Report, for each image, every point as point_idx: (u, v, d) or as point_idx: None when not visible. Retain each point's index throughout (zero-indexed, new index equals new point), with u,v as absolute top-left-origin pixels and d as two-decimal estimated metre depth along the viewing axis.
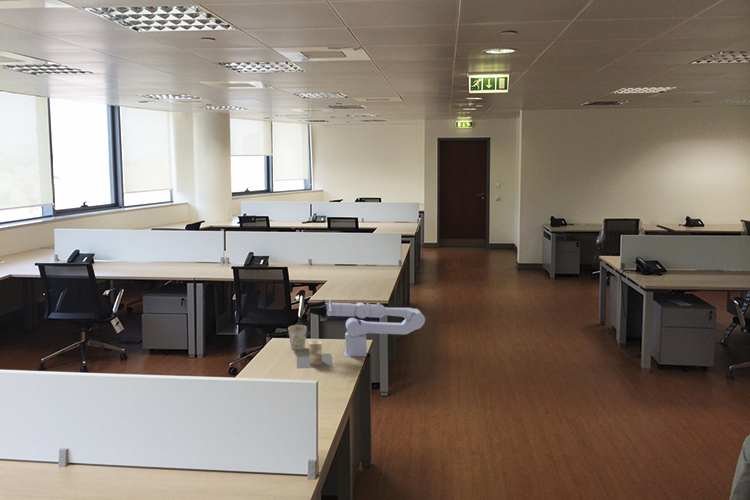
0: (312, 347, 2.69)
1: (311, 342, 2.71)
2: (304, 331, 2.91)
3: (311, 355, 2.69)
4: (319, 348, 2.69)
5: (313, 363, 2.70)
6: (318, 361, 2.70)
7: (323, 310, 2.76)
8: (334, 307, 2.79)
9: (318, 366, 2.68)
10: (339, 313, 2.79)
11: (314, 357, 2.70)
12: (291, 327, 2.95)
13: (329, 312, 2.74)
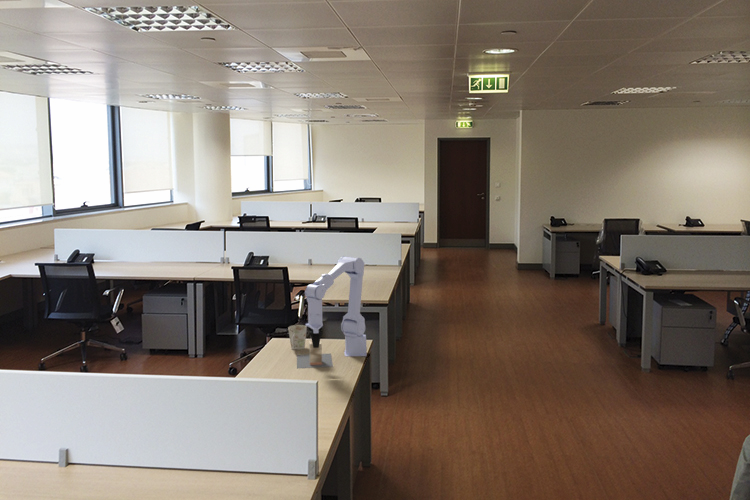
0: (312, 347, 2.69)
1: (311, 342, 2.71)
2: (304, 331, 2.91)
3: (311, 355, 2.69)
4: (319, 348, 2.69)
5: (313, 363, 2.70)
6: (318, 361, 2.70)
7: None
8: (312, 322, 2.60)
9: (318, 366, 2.68)
10: (318, 316, 2.60)
11: (314, 357, 2.70)
12: (291, 327, 2.95)
13: (315, 330, 2.55)
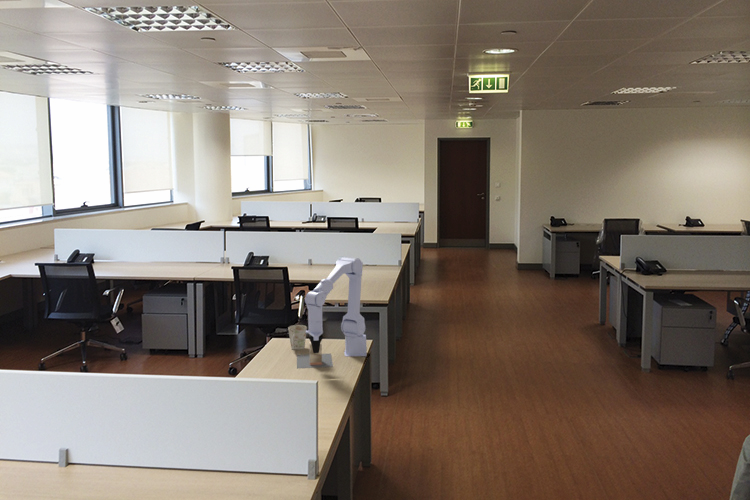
0: None
1: None
2: (304, 331, 2.91)
3: (311, 355, 2.69)
4: (319, 348, 2.69)
5: (313, 363, 2.70)
6: (318, 361, 2.70)
7: None
8: (312, 329, 2.60)
9: (318, 366, 2.68)
10: (318, 323, 2.60)
11: (314, 357, 2.70)
12: (291, 327, 2.95)
13: (315, 338, 2.56)
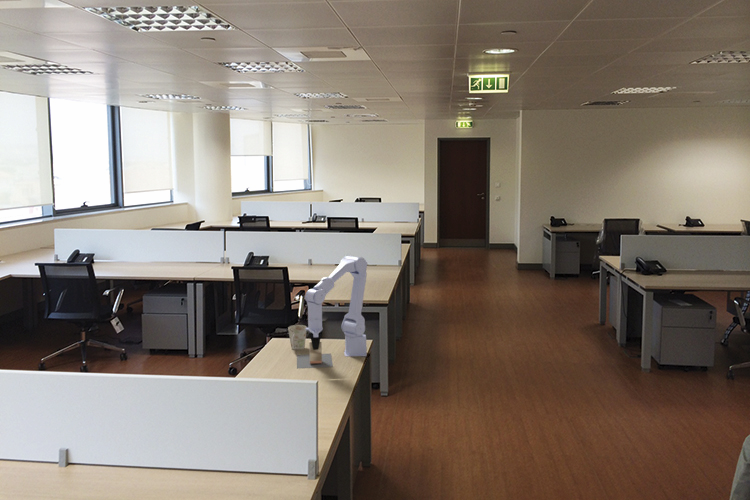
0: None
1: (311, 341, 2.72)
2: (304, 331, 2.91)
3: (311, 353, 2.70)
4: (319, 346, 2.70)
5: (313, 362, 2.70)
6: (318, 359, 2.70)
7: None
8: (312, 326, 2.65)
9: (318, 366, 2.68)
10: (318, 320, 2.65)
11: (314, 355, 2.70)
12: (291, 327, 2.95)
13: (315, 334, 2.61)
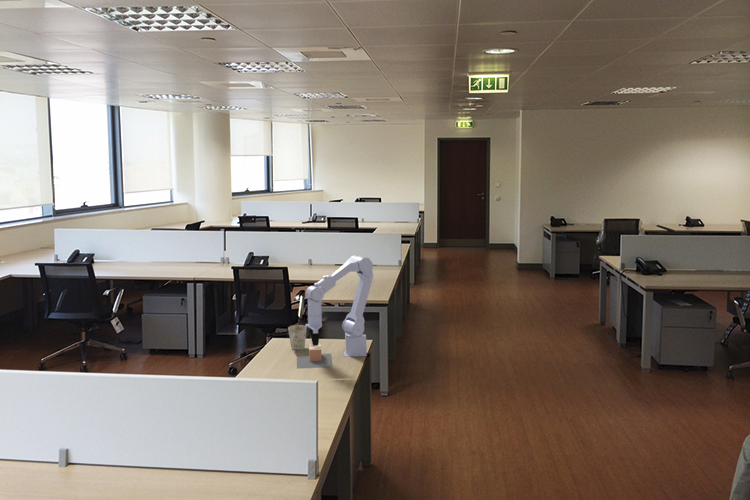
0: (311, 344, 2.82)
1: None
2: (304, 331, 2.91)
3: (311, 346, 2.78)
4: (318, 344, 2.82)
5: (313, 349, 2.75)
6: (317, 348, 2.76)
7: None
8: (312, 322, 2.70)
9: (318, 366, 2.68)
10: (317, 316, 2.70)
11: (313, 347, 2.77)
12: (291, 327, 2.95)
13: (314, 330, 2.66)
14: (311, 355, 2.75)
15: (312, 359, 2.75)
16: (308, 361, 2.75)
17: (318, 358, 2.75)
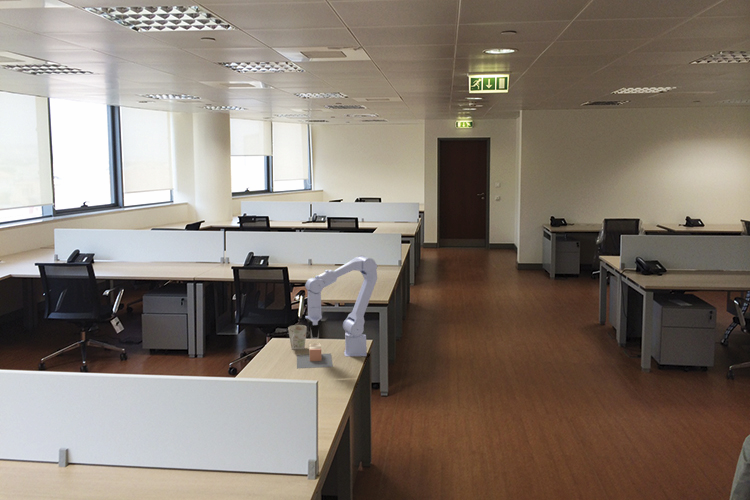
0: (311, 344, 2.82)
1: None
2: (304, 331, 2.91)
3: (311, 346, 2.78)
4: (318, 344, 2.82)
5: (313, 349, 2.75)
6: (317, 348, 2.76)
7: None
8: (311, 314, 2.72)
9: (318, 366, 2.68)
10: (317, 308, 2.72)
11: (313, 347, 2.77)
12: (291, 327, 2.95)
13: (314, 322, 2.68)
14: (311, 355, 2.75)
15: (312, 359, 2.75)
16: (308, 361, 2.75)
17: (318, 358, 2.75)
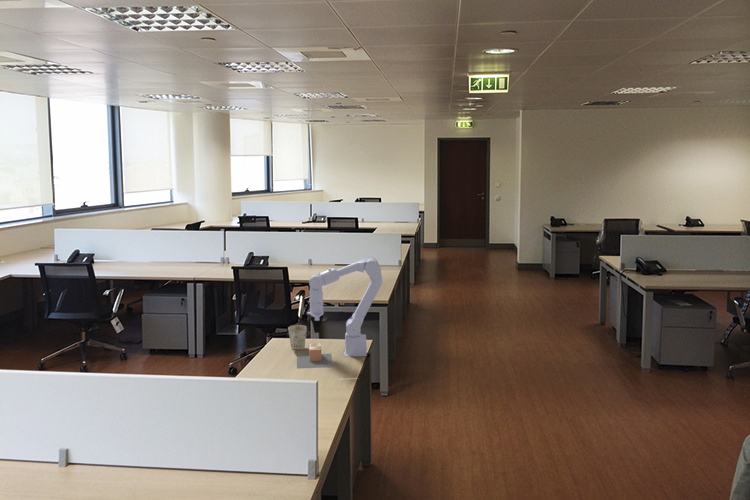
0: (311, 344, 2.82)
1: None
2: (304, 331, 2.91)
3: (311, 346, 2.78)
4: (318, 344, 2.82)
5: (313, 349, 2.75)
6: (317, 348, 2.76)
7: None
8: (313, 310, 2.79)
9: (318, 366, 2.68)
10: (319, 304, 2.79)
11: (313, 347, 2.77)
12: (291, 327, 2.95)
13: (316, 318, 2.75)
14: (311, 355, 2.75)
15: (312, 359, 2.75)
16: (308, 361, 2.75)
17: (318, 358, 2.75)
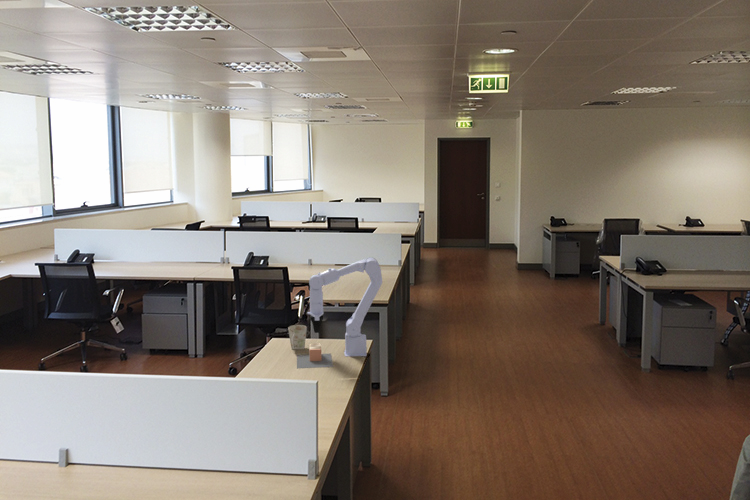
0: (311, 344, 2.82)
1: None
2: (304, 331, 2.91)
3: (311, 346, 2.78)
4: (318, 344, 2.82)
5: (313, 349, 2.75)
6: (317, 348, 2.76)
7: None
8: (313, 310, 2.79)
9: (318, 366, 2.68)
10: (319, 304, 2.79)
11: (313, 347, 2.77)
12: (291, 327, 2.95)
13: (316, 318, 2.75)
14: (311, 355, 2.75)
15: (312, 359, 2.75)
16: (308, 361, 2.75)
17: (318, 358, 2.75)
